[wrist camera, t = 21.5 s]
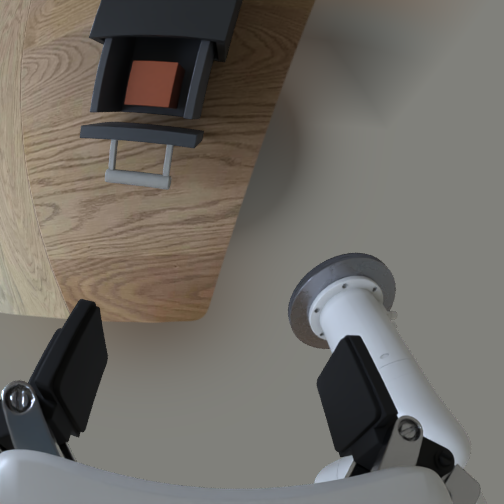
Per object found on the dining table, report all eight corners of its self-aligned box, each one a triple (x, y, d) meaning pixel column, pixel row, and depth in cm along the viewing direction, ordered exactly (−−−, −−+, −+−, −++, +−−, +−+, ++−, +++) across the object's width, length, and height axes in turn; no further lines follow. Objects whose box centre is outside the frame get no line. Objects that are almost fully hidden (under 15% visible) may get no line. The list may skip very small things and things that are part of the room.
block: (185, 70, 24) (178, 62, 20) (177, 108, 26) (168, 107, 22) (145, 67, 24) (132, 60, 19) (137, 105, 26) (123, 104, 21)
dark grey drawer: (194, 181, 32) (186, 201, 25) (106, 170, 30) (76, 187, 23) (227, 32, 23) (227, 9, 17) (132, 27, 21) (108, 7, 15)
